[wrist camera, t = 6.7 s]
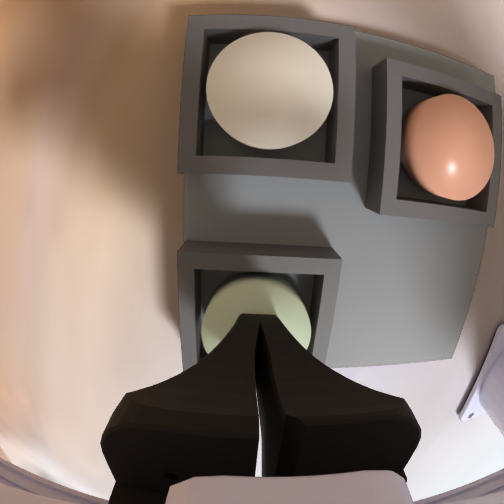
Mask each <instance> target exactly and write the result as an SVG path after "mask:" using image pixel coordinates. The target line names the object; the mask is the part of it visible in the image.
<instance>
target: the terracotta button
mask: <svg viewBox="0 0 504 504" xmlns="http://www.w3.org/2000/svg"><path fill="white" fill-rule="evenodd" d="M400 159H401V162H402V165H403V167H404V169H405V171H406V173H407V175H408V176H409V178H410V179H411V180H412V181H413V182H414V183H415V185H416V186H418V187H419V188H420V189H422V190H423V191H425V192H427V193H429V194H433V195H436V196H440V197H444V198H448V199H452V200H458V201H460V200H467V199H470V198H472V197H474V196H475V195H477V194H478V193H479V192H480V191H481V190H482V189H483V188H484V187H485V185H486V184H487V182H488V180H489V178H490V176H491V173H492V170H493V165H494V142H493V137H492V133H491V130H490V128H489V125H488V123H487V121H486V119H485V118H484V116H483V114H482V113H481V112H480V111H479V109H478V108H477V107H476V106H475V105H474V104H472V103H471V102H470V101H469V100H467V99H465V98H463V97H461V96H458V95H454V94H443V95H440V96H436V97H432V98H429V99H425V100H422V101H419V102H417V103H415V104H414V105H413V106H412V107H411V108H410V109H409V110H408V111H407V112H406V114H405V115H404V117H403V119H402V128H401V149H400Z"/></svg>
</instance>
